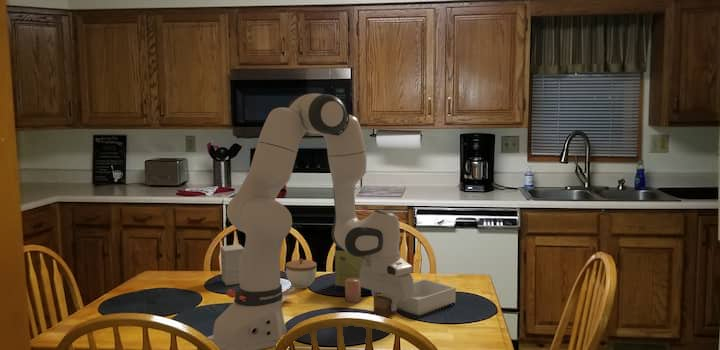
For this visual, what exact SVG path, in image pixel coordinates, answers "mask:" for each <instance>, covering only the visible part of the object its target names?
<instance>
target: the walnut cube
mask: <svg viewBox="0 0 720 350" xmlns="http://www.w3.org/2000/svg"><path fill="white" fill-rule="evenodd" d="M392 301H393V300H391V297H390V296H387V295H384V294H380V295H379V296H375V297H374V298H373V314H376V315H378V314H379V315H378V316H381V315H383V316H382V317H384V316H386V317H385V318H387V317H389V316H392V315H396V314H397V313H398V309H396V310H395V311H391V310H389V305H390V304H392Z"/></svg>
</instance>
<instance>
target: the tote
mask: <svg viewBox="0 0 720 350" xmlns="http://www.w3.org/2000/svg"><path fill="white" fill-rule="evenodd" d="M456 290H457V289H456V287H454V286H452V285H451V286H450V285H447V284H443V283H440V282H436V281H433V280H429V279H427V278H426V279H425V278H424V279H421V280H417V281H413V297H412V298H411V299H409V300H406V301H402V300H399V302H398V303H397V310H400V311H403V312H406V313H408V314H412V315H415V316H418V317H419V316H422V315H425V314H428V313H430V312H433V311H436V309H437V310H439V308H440V309H442V308H441V307H443V308H445V307H444V306H446V307H448V306H447V305H449V304H451V305H453V304H452V303H454V304H456V297H457V296H456ZM449 306H450V305H449Z"/></svg>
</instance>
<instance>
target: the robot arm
mask: <svg viewBox="0 0 720 350" xmlns="http://www.w3.org/2000/svg"><path fill="white" fill-rule="evenodd" d="M306 133H310V134H319V135H320V134H321V135H322V136H323V138H324V141H325V144H326V151H327V159H328V165H329V170H330V175H331V182H332V186H333V187H332V189H333V190H332V191H333V203H334V221H333V224H332V228H331V239H332V241H333V243H334V244H335V246H336V245H337V246H338V247H340V248H342V249H344V250H345V251H346V252H348V253H349V254H351V255H353V256H356V257H363V256H367V255H371V259H368V258H365V259H364V260H363V261H362V267H361V270H360V285H361V287H363V288H366V289H369V290H372V292H371V295H372V298H373V299H374V297H375V296H379V294H380V295H382V294H384V295H387V296H390V297H391V300H393V301H392V304H390V305H389V310H391V311H395V310H396V309H397V303H398V302H399V300H402V301H406V300H409V299H411V298H412V297H413V282H414V279H413V276H412V274H411V273H413V265H412V264H410V263H408V262H407V261H406V260H405V259H404V258H402V257H401V251H400V248H399V247H400V246H399V245H400V241H401V229H400V221H399V220H400V219H399V217H398V215H397V214H395V213H394V212H392V211H389V210H384V209H375V210H373V211H372V212H371V213H370V214H369V215H368V216H366V217H365V218H363V219H361V220H360V219H359V218H358V216H357V212H356V199H355V198H356V197H355V188H356V184H357V183H358V182H359V181H360V180H362V179H363V178H364V176H365V174H366V173H367V172H366V171H367V151H366V143H365V140H364V139H365V138H364V134H363V130H362V127H361V124H360V121H359V120H358V118H357V117H356V116H354V115H351V114H349V113H348V112H347V108H346V105H345V104H344V103H343V101H342V100H341V99H339V98H338V97H337V96H334V95H332V94H328V93H325V94H323V93H315V92H313V93H308V94H301V95H298V96H296V97H294V98H293V99H292V100H291V101H290V103H289V104H288V105H287V106H286V107H284V106H283V107H282V106H281V107H276V108H274V109H272V110H271V111H270V112H269V113H268V115H267V118H266V120H265V122H264V123H263V127H262V129H261V132H260V134H259V137H258V141H257V144H256V147H255V151H254V154H253V157H252V160H251V164H250V168H249V170H248V172H247V174H246V177H245V179H244V180H243V182H242V183H241V186H240V188H239V190H238V192H237V193H236V194H235V196H233V197H232V198H231V200H229V202H228V205H227V207H226V216H227V219H228V221H229V222H230V223H231V225H232V226H233V227H234V229H236V230H237V231H240V232H242V233H244V234H245V243H244V251H243V254H242V255H241V256H240V258H239V280H240V284H239V285H238V288H237V290H236V291H235V290H234V289H231V288H230V289H229V288H228V290H227V291H226V296H227V297H229V298H231V299H234V300H233V302H232V303H231V304H230V305H229V306H228V307H227V308H226V309H225V310H224V311H223V312H222V313H221V314H220V315H219V316H218V317H217V318H216V319H215V321H214V325H213V329H212V330H213V331H212V332H213V333H212V335H209V336H207V337H206V338H208V339H210V340H211V341H212V342H213V343H214V344H215V345H216V346H217V347H218V348H219V350H263V349H268V348H273V347H277V346H276V344H277V343H278V341H279V340H280V338H281V337H282V336H283V335H284V334H285V333H286V332H287V333H288V330H287V327H286V324H285V320H284V314H283V305H282V302H283V301H282V300H283V285H282V284H281V254H282V249H283V245H284V242H285V241H284V240H285V238H286V237H287V236H288V234H289V233H291V229H292V227H293V218H292V217H293V216H292V213H291V212H290V211H289V209H288V208H287V207H286V206H285V205H284V204H282V203H281V202H279V201H278V200H276V199H277V197H278V195H279V194H280V192H281V190H282V189H283V188H284V186H285V185H286V184H288V183H289V181H290V179H291V176H292V173H293V169H294V166H295V162H296V159H297V154H298V151H299V147H300V142H301V141H302V139H303V137H304V135H306ZM397 310H398V309H397Z"/></svg>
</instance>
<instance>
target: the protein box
mask: <svg viewBox="0 0 720 350" xmlns="http://www.w3.org/2000/svg"><path fill="white" fill-rule="evenodd" d="M334 252H335V253H334V259H335V261H334V269H335V271H334V289H336V290H335V291H345V279H348V278H358V279H360V270H361V267H362V261H363V260H364V259H365V258H368V259H371V255H367V256H363V257H356V256H353V255H351V254H349V253H348V252H346V251H345V250H344V249H342V248H340V247H338V246H337V245H336V244H335V246H334ZM364 291H368V292H367V293H369V292H370V293H372V290H369V289H366V288H363V287H361V292H364Z"/></svg>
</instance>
